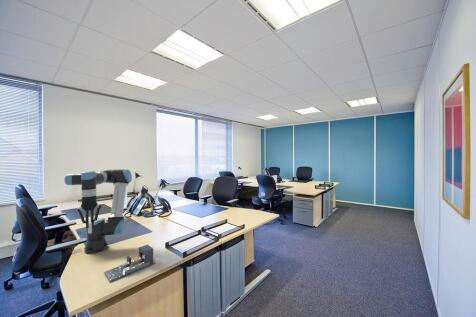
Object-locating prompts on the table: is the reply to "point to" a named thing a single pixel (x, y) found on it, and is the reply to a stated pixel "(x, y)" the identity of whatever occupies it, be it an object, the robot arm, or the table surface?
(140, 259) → the orange-striped grey block
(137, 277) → the table surface
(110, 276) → the gauge base
